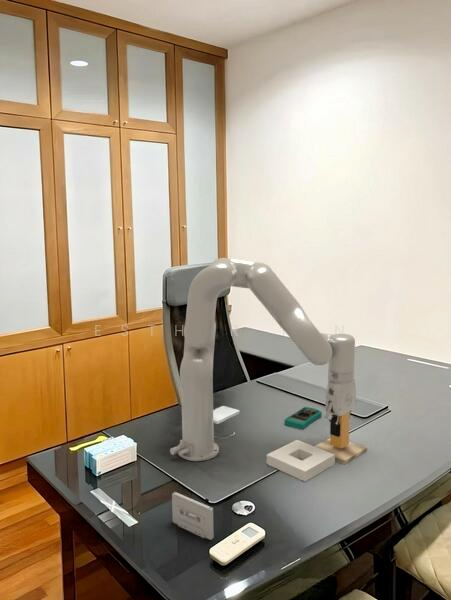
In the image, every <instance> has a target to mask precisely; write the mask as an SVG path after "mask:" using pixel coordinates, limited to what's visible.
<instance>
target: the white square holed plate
mask: <svg viewBox="0 0 451 600" xmlns="http://www.w3.org/2000/svg"><path fill="white" fill-rule="evenodd" d="M314 446H315V445H312V444H309V443H307V442H304V441H302V440H298V439H296V440H293V441H291V442H290V443H288V444H285V445H284V446H281V447H279V448H277V449H276V450H273V451H271V452H269V453H267V454H266V465H267V464H268V465H267V466H269V467H272V468H274V469H276V468H277V470H278V469H279V471H281V472H283V473H285V474H287V475H290V476H292V477H294V478H295V479H298V480H301V481H303V482H307V481H309V480H310V479H312V478H314V477H316V476H318V475H319V474H320V473H322V472H324V471H326V470H327V469H329V468H331V467H333V466H335V462H336V461H335V454H332V453H330V452H327V451H325V450H322V449H319V448H317V447H314Z"/></svg>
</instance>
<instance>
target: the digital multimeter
mask: <svg viewBox="0 0 451 600" xmlns="http://www.w3.org/2000/svg"><path fill="white" fill-rule="evenodd" d="M322 412H323V411H321V410H319V409H317V408H314V407H309V406H303V407H302V408H301V409H299V410H297V411H296V412H294V413H292V414H291V415H290V416H288V417H286V418H285V419H284V425H285V426H287V427H290V428H293V427H294V428H293V429H297V428H298V429H297V430H301V429H302V430H303V431H304V429H306V428H307V427H308V426H310V425H311V424H313V423H314V422H315V421H317V420H318V419H320V418H321V417H322V415H323V414H322ZM309 424H310V425H309Z"/></svg>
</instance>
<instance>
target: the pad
mask: <svg viewBox="0 0 451 600" xmlns="http://www.w3.org/2000/svg"><path fill="white" fill-rule="evenodd" d="M313 446H314V447H317V448H319V449H322V450H325V451H327V452H330V453H332V454H335V462H338V463H341V464H343V465H346V464H347V463H349V462H350V461H352V460H354V459H356V458H357V457H359V456H361V455H362V454H364V453H366V452H368V451H367V449H368V448H367V447H366V446H364V445H361V444H358V443H354V442H352V441H349V445H347V446H345V447H343V448H338V447H336V446H333V445H330V437H329V438H326V439H325V440H324V441H322V442H319V443H318V444H316V445H313Z"/></svg>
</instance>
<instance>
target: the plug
mask: <svg viewBox="0 0 451 600" xmlns="http://www.w3.org/2000/svg"><path fill="white" fill-rule="evenodd" d="M333 412H334V411H333ZM333 417H335V419H336V416H335V415H334V416H333ZM339 424H340V436H339V437H337V436H334V435H331V434H330V435H329V436H330V437H329V438H330V445H333V446H336V447H338V448H343V447H345V446H347V445H349V442H350V419H349V412H348V413H346V414H344V415H342V416H340V420H339Z"/></svg>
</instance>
